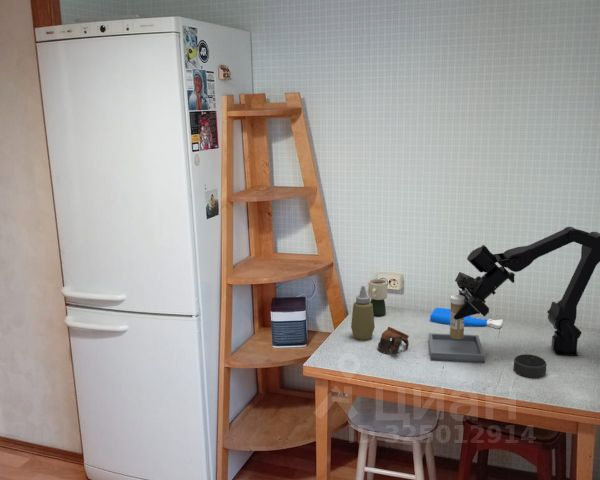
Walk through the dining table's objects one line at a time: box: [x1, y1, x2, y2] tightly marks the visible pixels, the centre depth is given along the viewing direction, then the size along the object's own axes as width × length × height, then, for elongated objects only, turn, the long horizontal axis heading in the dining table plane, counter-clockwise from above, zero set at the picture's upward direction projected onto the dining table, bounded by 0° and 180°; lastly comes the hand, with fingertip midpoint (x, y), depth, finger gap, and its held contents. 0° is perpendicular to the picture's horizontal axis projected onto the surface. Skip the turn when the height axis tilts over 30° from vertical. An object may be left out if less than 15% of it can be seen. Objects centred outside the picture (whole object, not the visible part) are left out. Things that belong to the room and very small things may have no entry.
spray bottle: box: [429, 307, 504, 330], centre depth 212 cm, size 3×11×24 cm
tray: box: [428, 332, 486, 364], centre depth 187 cm, size 16×16×2 cm
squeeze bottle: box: [350, 285, 376, 341], centre depth 198 cm, size 8×8×18 cm
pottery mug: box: [377, 326, 410, 355], centre depth 188 cm, size 12×10×8 cm
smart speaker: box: [513, 353, 548, 378], centre depth 172 cm, size 9×9×4 cm
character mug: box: [367, 278, 388, 316], centre depth 220 cm, size 11×7×13 cm, turn 153°
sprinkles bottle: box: [449, 294, 465, 339], centre depth 185 cm, size 5×5×14 cm
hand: (453, 316), depth 185 cm, fingers closed on sprinkles bottle, 4 cm apart
